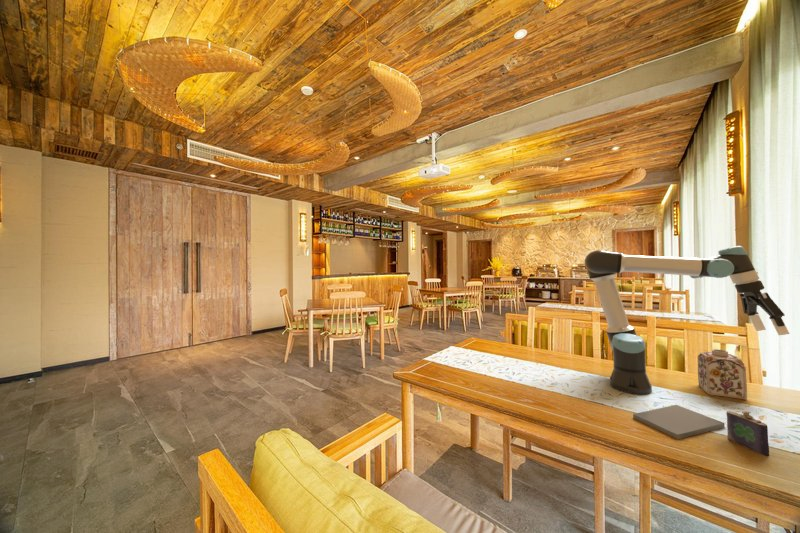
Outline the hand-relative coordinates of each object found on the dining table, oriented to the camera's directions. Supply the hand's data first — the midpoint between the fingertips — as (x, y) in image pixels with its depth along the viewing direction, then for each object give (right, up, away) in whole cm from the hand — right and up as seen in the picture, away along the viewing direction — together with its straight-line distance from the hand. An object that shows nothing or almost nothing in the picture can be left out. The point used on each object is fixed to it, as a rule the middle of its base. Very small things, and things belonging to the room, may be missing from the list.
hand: (772, 332), depth 118 cm
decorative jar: (-13, -28, +7) cm, 31 cm away
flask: (-44, -29, -29) cm, 60 cm away
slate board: (-52, -29, -15) cm, 62 cm away
